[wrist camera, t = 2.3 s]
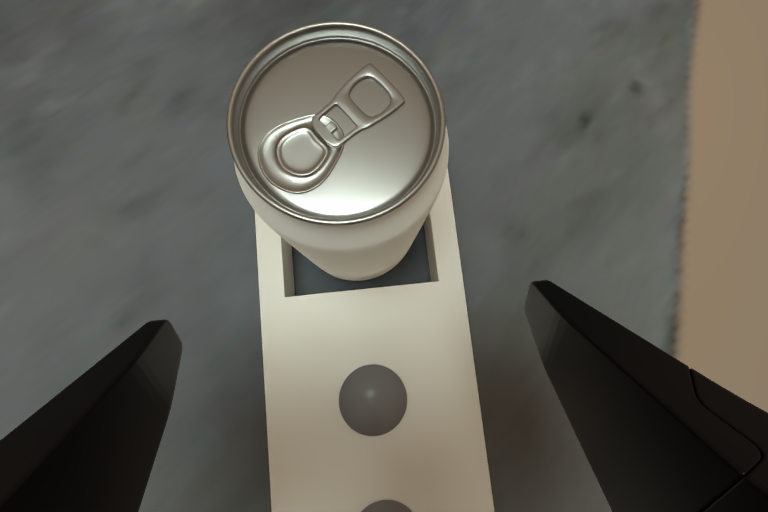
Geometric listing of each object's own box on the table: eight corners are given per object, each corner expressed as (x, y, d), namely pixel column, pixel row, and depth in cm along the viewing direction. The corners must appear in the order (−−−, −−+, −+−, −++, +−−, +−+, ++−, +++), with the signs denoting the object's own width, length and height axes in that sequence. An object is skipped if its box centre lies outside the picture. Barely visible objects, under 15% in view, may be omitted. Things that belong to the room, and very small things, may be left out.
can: (277, 220, 21) (156, 105, 9) (362, 150, 22) (349, -38, 10) (351, 306, 21) (322, 297, 9) (436, 230, 21) (515, 130, 10)
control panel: (497, 627, 18) (524, 694, 15) (295, 656, 18) (278, 732, 15) (432, 136, 22) (442, 106, 19) (264, 150, 22) (245, 122, 19)
